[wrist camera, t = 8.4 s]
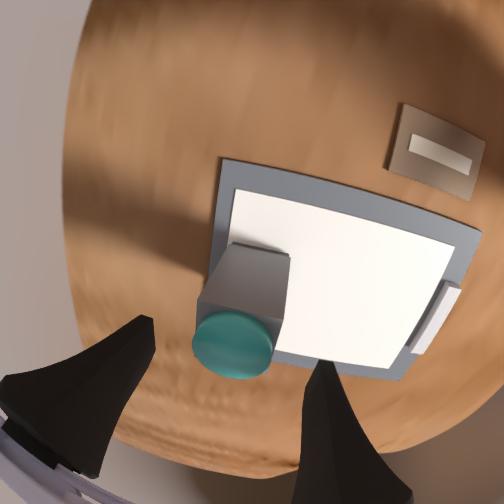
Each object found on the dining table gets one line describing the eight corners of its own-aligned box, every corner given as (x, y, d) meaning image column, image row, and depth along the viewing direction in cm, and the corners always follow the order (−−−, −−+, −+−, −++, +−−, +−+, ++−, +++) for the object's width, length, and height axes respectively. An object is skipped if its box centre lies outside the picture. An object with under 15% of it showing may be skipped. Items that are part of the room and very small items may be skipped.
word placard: (483, 141, 12) (486, 142, 12) (467, 200, 14) (470, 202, 14) (402, 103, 12) (405, 103, 12) (387, 170, 14) (389, 171, 14)
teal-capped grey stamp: (291, 252, 17) (281, 332, 11) (278, 301, 18) (264, 387, 12) (231, 239, 17) (190, 311, 11) (224, 289, 19) (189, 368, 13)
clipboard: (480, 230, 14) (488, 237, 13) (398, 377, 21) (400, 386, 20) (225, 158, 16) (219, 161, 15) (203, 340, 22) (199, 349, 21)
